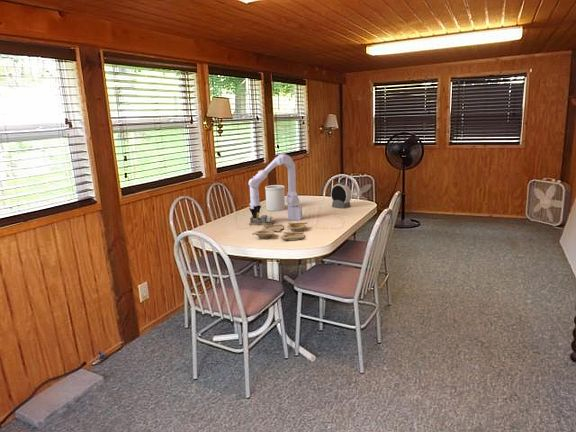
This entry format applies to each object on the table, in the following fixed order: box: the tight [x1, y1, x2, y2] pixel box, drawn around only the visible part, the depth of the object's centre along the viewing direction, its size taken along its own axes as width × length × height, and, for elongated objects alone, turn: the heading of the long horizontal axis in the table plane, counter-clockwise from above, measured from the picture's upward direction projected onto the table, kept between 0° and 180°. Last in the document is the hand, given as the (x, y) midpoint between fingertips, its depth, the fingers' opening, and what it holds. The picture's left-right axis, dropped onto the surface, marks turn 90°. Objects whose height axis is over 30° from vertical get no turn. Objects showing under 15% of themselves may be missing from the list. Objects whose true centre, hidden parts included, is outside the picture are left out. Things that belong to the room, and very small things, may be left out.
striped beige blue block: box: [265, 216, 274, 222], centre depth 274 cm, size 7×3×3 cm, turn 77°
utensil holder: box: [264, 184, 286, 212], centre depth 316 cm, size 15×15×18 cm
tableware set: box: [251, 221, 308, 241], centre depth 249 cm, size 35×29×4 cm
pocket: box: [249, 216, 261, 223], centre depth 275 cm, size 7×7×4 cm
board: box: [248, 219, 276, 226], centre depth 275 cm, size 15×10×1 cm
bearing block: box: [259, 214, 268, 223], centre depth 274 cm, size 3×6×4 cm, turn 167°
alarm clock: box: [330, 182, 352, 209], centre depth 314 cm, size 16×10×18 cm, turn 42°
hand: (256, 217), depth 275 cm, fingers closed on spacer, 4 cm apart
